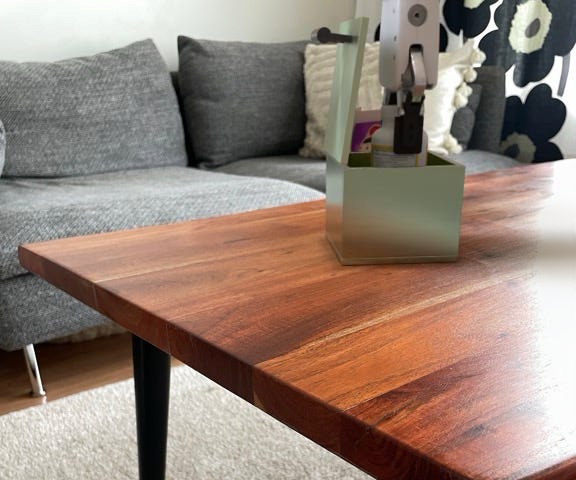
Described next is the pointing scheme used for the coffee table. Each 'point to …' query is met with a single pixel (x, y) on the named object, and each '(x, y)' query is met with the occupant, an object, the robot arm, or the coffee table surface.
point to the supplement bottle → (384, 144)
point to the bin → (393, 210)
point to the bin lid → (343, 83)
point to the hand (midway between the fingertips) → (399, 148)
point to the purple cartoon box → (364, 129)
